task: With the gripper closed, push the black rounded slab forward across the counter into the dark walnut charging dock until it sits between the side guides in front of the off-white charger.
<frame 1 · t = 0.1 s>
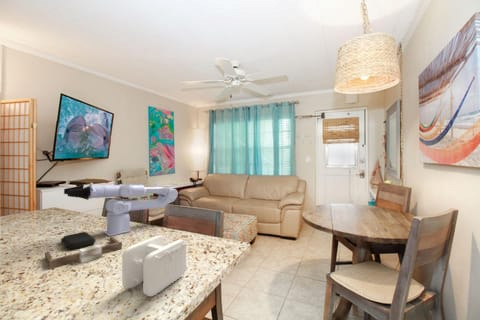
hand: (65, 192, 93), 22 cm above the counter, tool horizontal, fingers open, 7 cm apart
cable organizer: (156, 283, 65), on the counter
black rounded slab: (76, 244, 93), on the counter
charging dock: (85, 252, 85), on the counter
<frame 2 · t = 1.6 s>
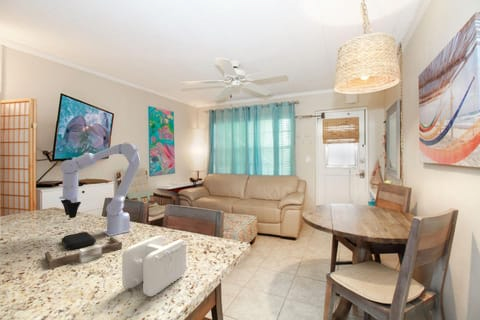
hand: (70, 216, 101), 9 cm above the counter, tool pointing down, fingers open, 7 cm apart
nothing on the counter moved.
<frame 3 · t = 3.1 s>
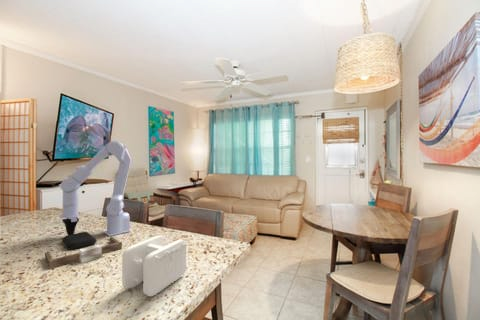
hand: (70, 234, 101), 1 cm above the counter, tool pointing down, fingers closed
nothing on the counter moved.
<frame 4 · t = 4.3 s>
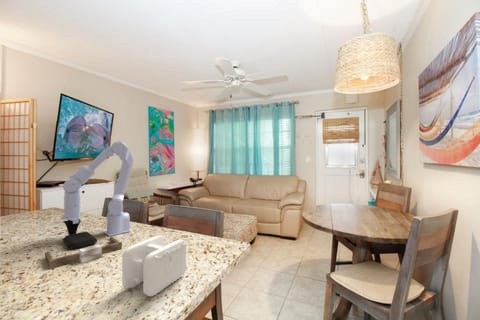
hand: (72, 236, 99), 1 cm above the counter, tool pointing down, fingers closed
black rounded slab: (78, 244, 94), on the counter, touching gripper
everything else where it was.
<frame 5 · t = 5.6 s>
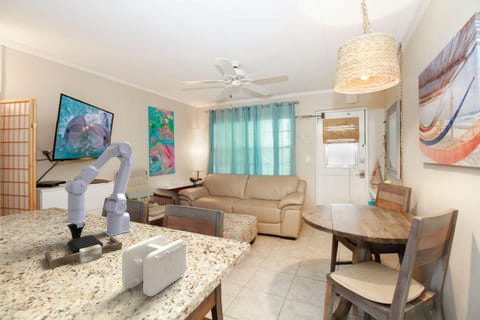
hand: (76, 240, 94), 1 cm above the counter, tool pointing down, fingers closed
black rounded slab: (83, 248, 89), on the counter
everything else where it was.
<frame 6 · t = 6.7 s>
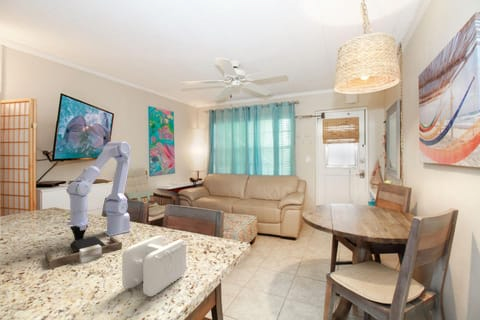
hand: (79, 243, 92), 1 cm above the counter, tool pointing down, fingers closed, pressing on black rounded slab
black rounded slab: (86, 250, 87), on the counter, touching charging dock, gripper
everything else where it was.
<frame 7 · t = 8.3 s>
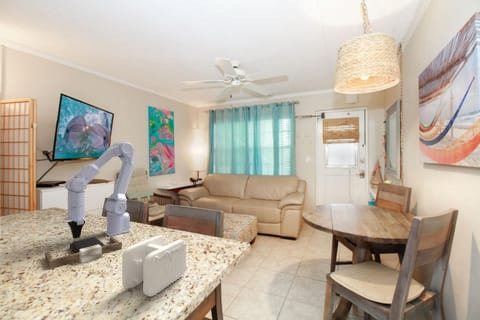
hand: (76, 237, 94), 2 cm above the counter, tool pointing down, fingers closed
black rounded slab: (86, 251, 87), on the counter
everything else where it was.
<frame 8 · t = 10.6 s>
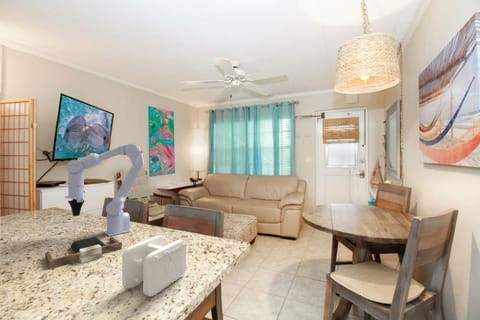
hand: (76, 215, 102), 9 cm above the counter, tool pointing down, fingers closed
nothing on the counter moved.
at the end: black rounded slab inside the target area (1.7 cm from its centre), on the counter; black rounded slab tilted 2°; the gripper is holding nothing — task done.
